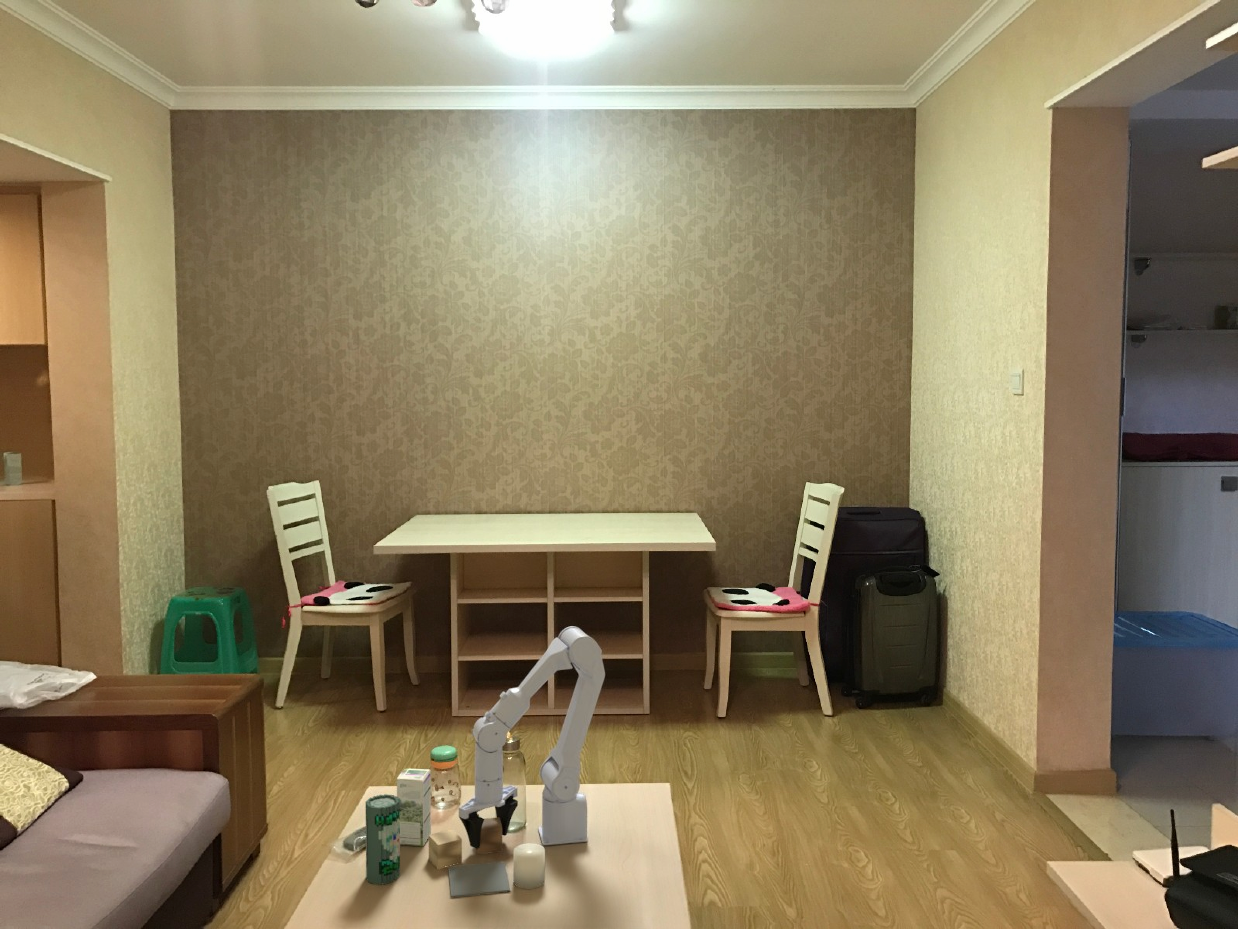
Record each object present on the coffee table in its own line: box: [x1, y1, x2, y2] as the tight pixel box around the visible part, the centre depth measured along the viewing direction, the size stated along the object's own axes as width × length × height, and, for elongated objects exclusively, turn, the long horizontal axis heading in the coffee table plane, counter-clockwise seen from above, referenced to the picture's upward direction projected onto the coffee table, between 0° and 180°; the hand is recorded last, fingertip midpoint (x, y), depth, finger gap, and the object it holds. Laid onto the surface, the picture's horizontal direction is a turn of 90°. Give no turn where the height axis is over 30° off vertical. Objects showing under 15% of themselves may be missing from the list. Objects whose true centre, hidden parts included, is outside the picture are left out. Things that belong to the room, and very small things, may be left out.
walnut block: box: [476, 816, 503, 855], centre depth 197 cm, size 5×5×5 cm
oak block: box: [428, 828, 463, 870], centre depth 191 cm, size 5×5×5 cm
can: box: [365, 793, 401, 886], centre depth 184 cm, size 6×6×15 cm
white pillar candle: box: [513, 842, 546, 890], centre depth 184 cm, size 6×6×6 cm
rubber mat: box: [448, 861, 511, 899], centre depth 184 cm, size 11×11×1 cm
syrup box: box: [396, 768, 432, 847], centre depth 199 cm, size 6×6×14 cm
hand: (488, 840), depth 197 cm, fingers closed on walnut block, 7 cm apart
